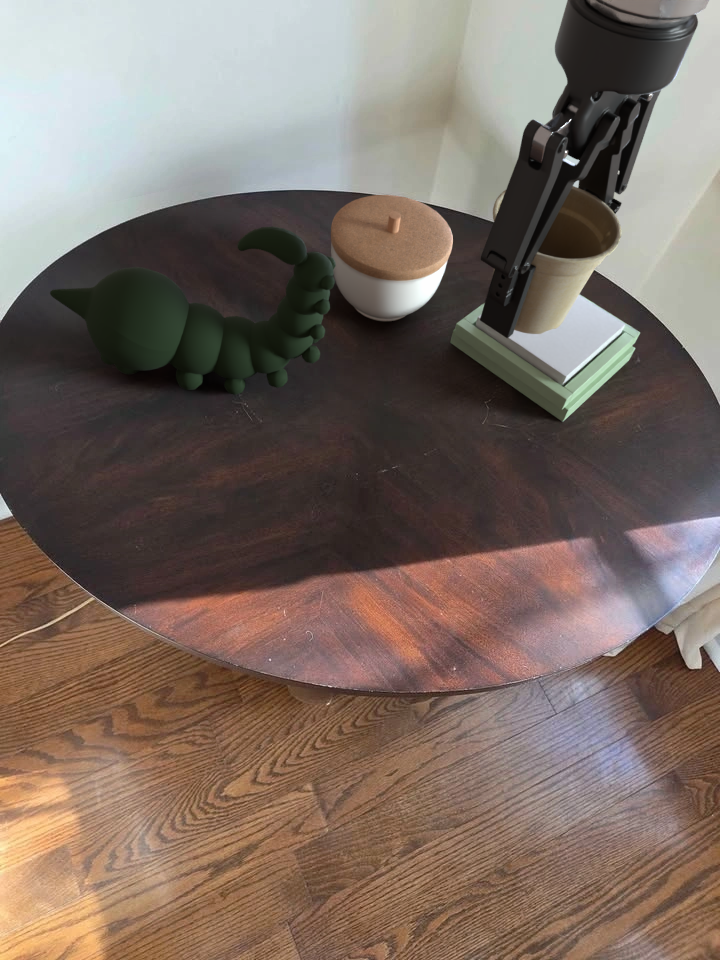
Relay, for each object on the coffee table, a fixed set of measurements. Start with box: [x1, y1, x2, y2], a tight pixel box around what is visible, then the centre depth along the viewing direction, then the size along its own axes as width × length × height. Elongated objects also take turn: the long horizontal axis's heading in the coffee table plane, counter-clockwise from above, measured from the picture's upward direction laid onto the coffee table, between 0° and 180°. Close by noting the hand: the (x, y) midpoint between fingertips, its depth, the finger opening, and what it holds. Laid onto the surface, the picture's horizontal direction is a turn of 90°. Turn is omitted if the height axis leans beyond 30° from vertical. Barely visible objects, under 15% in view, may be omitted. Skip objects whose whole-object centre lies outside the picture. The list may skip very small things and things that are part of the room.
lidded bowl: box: [330, 194, 454, 322], centre depth 83 cm, size 13×13×11 cm
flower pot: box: [492, 185, 622, 334], centre depth 60 cm, size 9×9×9 cm
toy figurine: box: [49, 226, 336, 396], centre depth 71 cm, size 9×19×25 cm
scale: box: [450, 293, 641, 423], centre depth 83 cm, size 15×14×4 cm
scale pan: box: [475, 294, 625, 386], centre depth 82 cm, size 11×11×2 cm
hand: (529, 300), depth 63 cm, fingers closed on flower pot, 8 cm apart
